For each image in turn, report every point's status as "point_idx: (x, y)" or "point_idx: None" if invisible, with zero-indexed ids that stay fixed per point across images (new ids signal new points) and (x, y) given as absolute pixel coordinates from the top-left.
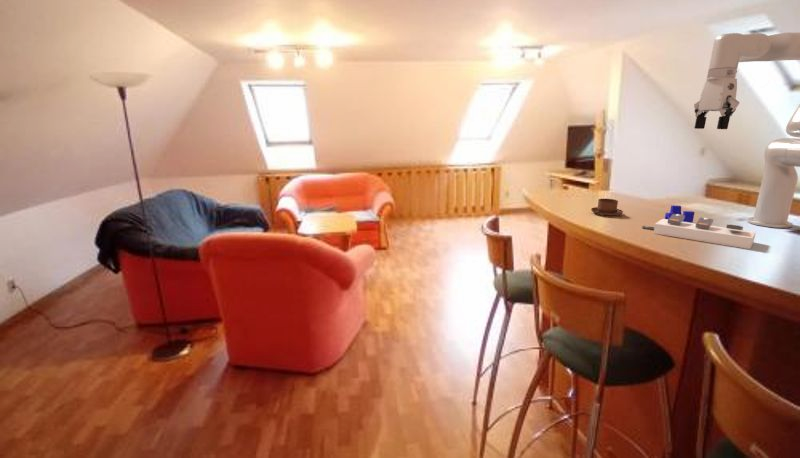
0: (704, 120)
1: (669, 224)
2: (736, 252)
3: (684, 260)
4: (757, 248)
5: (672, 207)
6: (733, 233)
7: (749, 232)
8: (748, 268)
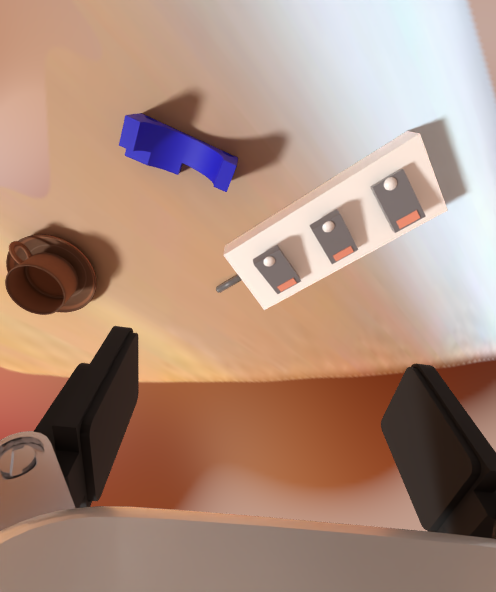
0: (110, 407)
1: None
2: (431, 251)
3: None
4: (439, 177)
5: (133, 150)
6: None
7: (414, 159)
8: (488, 312)
